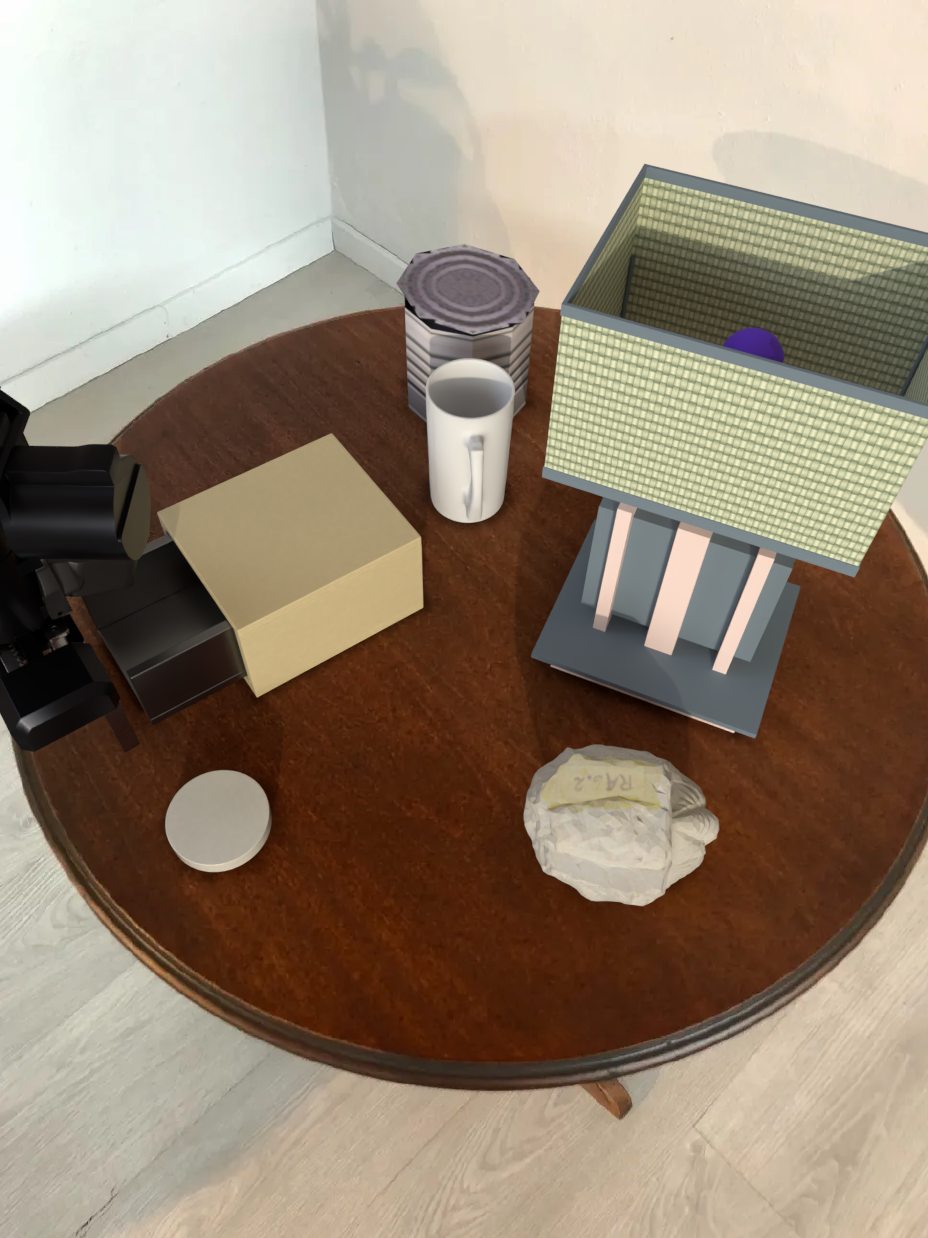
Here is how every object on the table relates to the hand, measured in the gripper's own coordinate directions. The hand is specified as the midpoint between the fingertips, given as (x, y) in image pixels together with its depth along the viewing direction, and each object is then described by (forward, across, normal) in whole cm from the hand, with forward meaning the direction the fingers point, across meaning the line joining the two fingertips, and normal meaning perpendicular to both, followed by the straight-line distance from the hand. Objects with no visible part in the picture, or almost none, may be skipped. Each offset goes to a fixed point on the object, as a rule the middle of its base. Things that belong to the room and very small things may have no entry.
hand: (54, 684), depth 70 cm
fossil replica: (+4, -30, -26) cm, 40 cm away
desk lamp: (+4, -19, -40) cm, 44 cm away
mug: (+4, 0, -35) cm, 35 cm away
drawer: (+3, 0, -6) cm, 7 cm away
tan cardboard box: (+4, 0, -19) cm, 19 cm away
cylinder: (+4, -14, -5) cm, 15 cm away
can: (+4, +12, -43) cm, 45 cm away
